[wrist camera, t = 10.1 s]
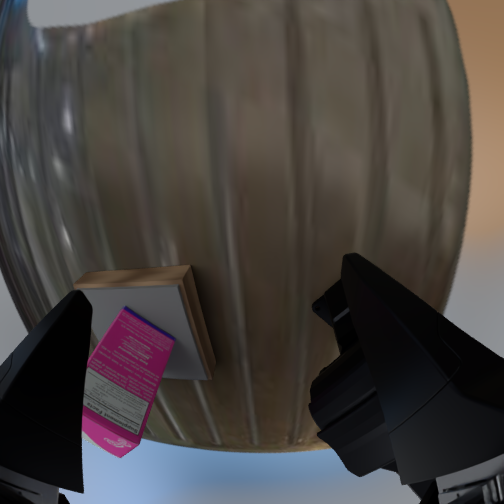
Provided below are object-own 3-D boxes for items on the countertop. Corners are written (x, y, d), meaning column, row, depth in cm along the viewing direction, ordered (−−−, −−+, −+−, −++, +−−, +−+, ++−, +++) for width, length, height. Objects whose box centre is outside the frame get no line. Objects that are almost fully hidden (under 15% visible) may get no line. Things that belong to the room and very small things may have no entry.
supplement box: (156, 368, 25) (119, 460, 15) (108, 337, 24) (55, 422, 14) (180, 338, 23) (139, 448, 13) (124, 302, 22) (58, 400, 11)
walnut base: (190, 264, 23) (180, 282, 21) (216, 362, 28) (211, 382, 25) (86, 272, 25) (70, 286, 22) (124, 357, 29) (115, 374, 27)
